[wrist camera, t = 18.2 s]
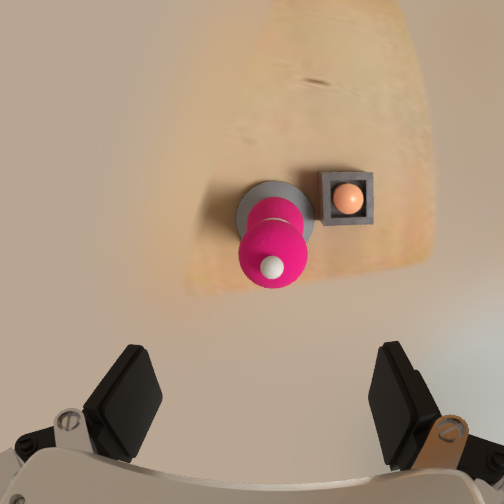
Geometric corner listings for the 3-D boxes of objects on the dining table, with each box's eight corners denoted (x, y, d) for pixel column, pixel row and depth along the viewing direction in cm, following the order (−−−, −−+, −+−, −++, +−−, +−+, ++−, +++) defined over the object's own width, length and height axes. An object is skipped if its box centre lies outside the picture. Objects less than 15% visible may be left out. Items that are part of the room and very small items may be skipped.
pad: (233, 183, 40) (232, 184, 39) (311, 179, 39) (312, 179, 38) (240, 257, 43) (239, 259, 42) (314, 254, 42) (314, 256, 41)
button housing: (318, 172, 38) (321, 172, 35) (365, 171, 38) (372, 172, 34) (320, 220, 40) (323, 225, 37) (366, 219, 40) (373, 224, 36)
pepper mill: (289, 251, 41) (296, 326, 22) (242, 233, 41) (210, 294, 22) (309, 205, 39) (336, 245, 20) (260, 185, 39) (242, 207, 20)
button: (330, 182, 38) (333, 184, 35) (358, 182, 37) (363, 183, 35) (331, 211, 39) (334, 214, 36) (358, 210, 38) (363, 213, 36)
